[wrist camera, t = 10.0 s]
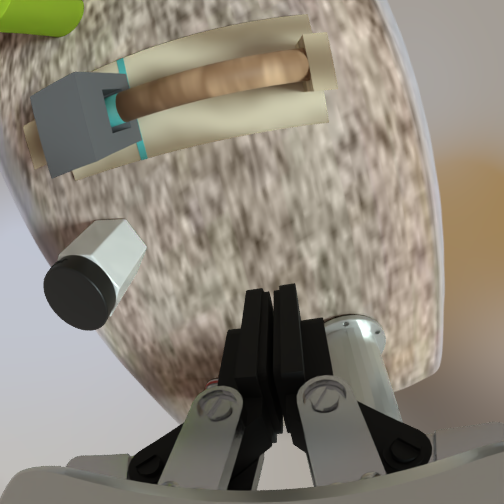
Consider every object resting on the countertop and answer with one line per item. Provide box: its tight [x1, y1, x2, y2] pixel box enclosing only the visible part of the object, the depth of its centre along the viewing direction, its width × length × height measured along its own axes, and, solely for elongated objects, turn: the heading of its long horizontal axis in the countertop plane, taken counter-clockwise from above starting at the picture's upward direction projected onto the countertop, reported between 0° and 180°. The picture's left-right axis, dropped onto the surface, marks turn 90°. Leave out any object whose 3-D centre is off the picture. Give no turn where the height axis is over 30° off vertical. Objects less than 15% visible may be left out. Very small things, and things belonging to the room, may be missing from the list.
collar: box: [30, 72, 142, 178], centre depth 24 cm, size 8×5×10 cm, turn 11°
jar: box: [44, 219, 147, 330], centre depth 33 cm, size 9×8×12 cm
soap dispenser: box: [0, 0, 84, 37], centre depth 15 cm, size 6×7×20 cm
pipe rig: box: [23, 14, 338, 181], centre depth 26 cm, size 12×30×8 cm, turn 101°
